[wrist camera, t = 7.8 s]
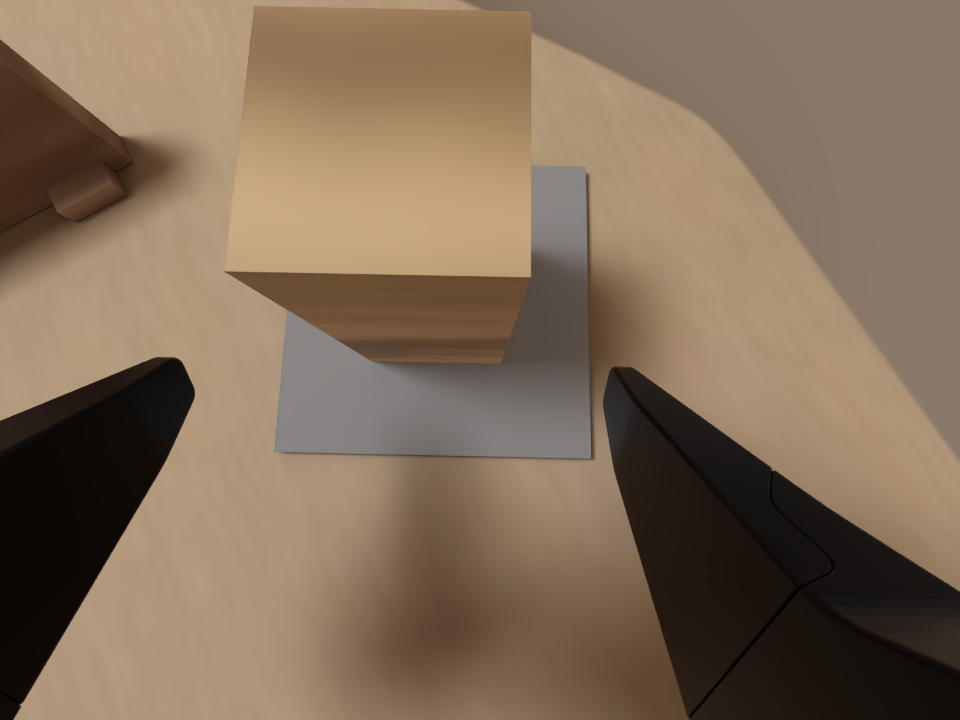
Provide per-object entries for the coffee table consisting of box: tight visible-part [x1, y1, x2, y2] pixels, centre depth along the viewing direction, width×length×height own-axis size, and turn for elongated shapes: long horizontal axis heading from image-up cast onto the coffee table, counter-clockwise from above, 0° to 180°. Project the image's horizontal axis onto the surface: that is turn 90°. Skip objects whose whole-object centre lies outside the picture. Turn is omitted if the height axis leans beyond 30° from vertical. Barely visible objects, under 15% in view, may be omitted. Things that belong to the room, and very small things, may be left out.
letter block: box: [224, 6, 531, 364], centre depth 12 cm, size 5×5×10 cm
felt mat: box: [274, 166, 591, 459], centre depth 18 cm, size 12×12×1 cm
